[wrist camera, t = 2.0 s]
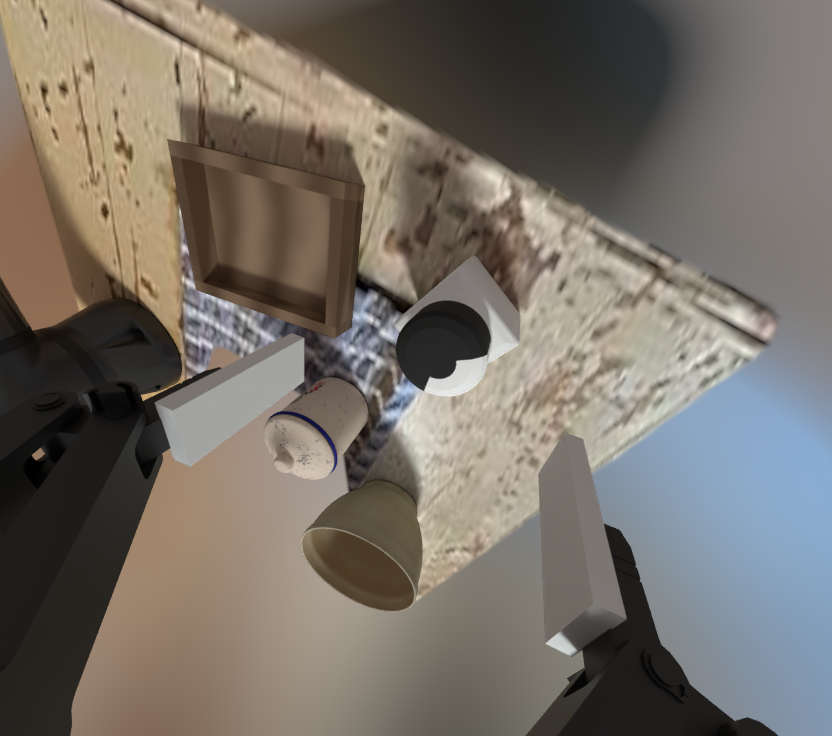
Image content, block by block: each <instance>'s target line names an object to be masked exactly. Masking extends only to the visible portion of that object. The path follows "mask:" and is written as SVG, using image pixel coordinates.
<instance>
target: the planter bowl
mask: <svg viewBox="0 0 832 736" xmlns="http://www.w3.org/2000/svg"><path fill="white" fill-rule="evenodd" d="M301 550H302V553H303V555H304V557H305V559H306V561H307V563H308V564H309V566H310V567H311V568H312V569H313V571H314V572H315V573H316V574H317V575H318V576H319V577H320V578H321V579H322V580H323V581H324V582H326V583H327V584H328V585H329V586H331V587H332V588H333V589H335V590H336V591H337V592H339V593H340V594H342V595H344V596H345V597H347V598H349V599H350V600H352V601H354V602H356V603H358V604H361V605H363V606H366V607H369V608H372V609H376V610H379V611H384V612H401V611H405V610H407V609H409V608H410V607H412V606H413V604H414V603H415V600H416V596H417V591H418V582H419V578H420V573H421V567H422V554H423V551H422V537H421V531H420V527H419V523H418V520H417V507H416V504H415V502H414V501H413V499H412V498H411V497H410V495H409V494H408V493H406V492H405V491H404V490H403V489H401V488H400V487H398V486H396V485H394V484H392V483H389V482H386V481H380V480H375V481H370V482H368V483H366V484H365V485H363V487H362V488H359V489H356V490H353V491H351V492H349V493H347V494H345V495H343V496H341V497H340V498H338V499H337V500H335V501H334V502H333V503H332V504H330V505H329V506H328V507H327V508H326V509H325V510H324V511H323V512H322V513H321V514H320V515H319V517H318V518H317V519H316V520H315V522H314V523H313V524H312V525H311V526H310V527H309V528H308V529H307V530H306V531H305V533H304V534H303V535H302V538H301Z"/></svg>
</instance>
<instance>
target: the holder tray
mask: <svg viewBox="0 0 832 736" xmlns="http://www.w3.org/2000/svg"><path fill="white" fill-rule="evenodd" d="M167 141H168V146H169V151H170V156H171V161H172V167H173V172H174V177H175V182H176V187H177V193H178V198H179V203H180V208H181V213H182V219H183V224H184V229H185V234H186V239H187V245H188V250H189V255H190V260H191V265H192V271H193V276H194V281H195V286H196V290H198V291H200V292H203V293H206V294H209V295H212V296H215V297H218V298H220V299H223V300H226V301H229V302H232V303H235V304H238V305H241V306H243V307H246V308H249V309H252V310H255V311H258V312H261V313H263V314H266V315H269V316H272V317H275V318H278V319H281V320H283V321H286V322H289V323H292V324H295V325H298V326H301V327H303V328H306V329H309V330H312V331H315V332H318V333H321V334H324V335H326V336H329V337H332V338H336V337H338V336H339V335H341V334H342V333H344V332H346V331H347V330H349V329H350V328H352V318H353V307H354V296H355V286H356V275H357V265H358V254H359V243H360V233H361V222H362V211H363V201H364V190H365V186H363V185H359V184H355V183H351V182H347V181H342V180H338V179H334V178H330V177H326V176H322V175H318V174H314V173H310V172H306V171H302V170H297V169H293V168H289V167H285V166H281V165H277V164H273V163H269V162H265V161H261V160H257V159H252V158H248V157H244V156H240V155H236V154H232V153H228V152H224V151H220V150H216V149H211V148H207V147H203V146H199V145H194V144H189V143H184V142H179V141H174V140H170V139H167Z"/></svg>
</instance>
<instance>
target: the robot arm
mask: <svg viewBox="0 0 832 736" xmlns="http://www.w3.org/2000/svg"><path fill="white" fill-rule="evenodd" d="M181 373H182V366H181V360H180V357H179V354H178V351H177V349H176V347H175V345H174V343H173V341H172V339H171V338H170V336H169V335H168V333H167V332H166V330H165V329H164V328H163V327H162V325H161V324H160V323H159V322H158V321H157V320H156V319H155V318H154V317H153V316H152V315H151V314H150V313H149V312H148V311H147V310H145V309H144V308H143V307H141V306H140V305H138V304H136V303H134V302H132V301H130V300H128V299H124V298H113V299H109V300H104V301H99V302H96V303H94V304H92V305H91V306H89V307H87V308H85V309H83V310H81V311H80V312H78V313H76V314H74V315H72V316H71V317H69V318H67V319H65V320H63V321H62V322H60V323H58V324H56V325H54V326H51V327H47V328H42V329H39V330H34V331H33V330H32V329H31V327H30V325H29V324H28V322H27V320H26V319H25V317H24V315H23V314H22V312H21V311H20V309H19V307H18V306H17V304H16V303H15V301H14V300H13V298H12V296H11V294H10V293H9V291H8V289H7V288H6V286H5V284H4V282H3V281H2V279H1V277H0V736H70V734H71V728H72V715H71V708H72V702H73V699H74V695H75V692H76V689H77V687H78V684H79V681H80V679H81V676H82V674H83V671H84V668H85V666H86V663H87V660H88V658H89V655H90V652H91V650H92V647H93V644H94V641H95V639H96V636H97V634H98V631H99V628H100V626H101V623H102V620H103V618H104V615H105V612H106V610H107V607H108V605H109V601H110V599H111V597H112V594H113V591H114V588H115V586H116V583H117V581H118V578H119V575H120V572H121V570H122V567H123V565H124V562H125V559H126V557H127V554H128V551H129V549H130V546H131V544H132V541H133V538H134V535H135V533H136V530H137V527H138V525H139V522H140V520H141V517H142V514H143V512H144V509H145V506H146V504H147V501H148V498H149V496H150V493H151V490H152V488H153V485H154V482H155V479H156V477H157V475H158V472H159V469H160V467H161V464H162V461H163V455H162V453H163V452H165V451H166V450H168V449H170V450H171V452H172V455H173V458H174V460H177V461H179V462H180V463H183V464H185V465H187V466H189V467H191V466H192V465H193V464H194V463H196V462H197V461H199V460H200V459H201V458H203V457H204V456H205V455H207V454H208V453H209V452H211V451H212V450H213V449H215V448H216V447H217V446H219V445H220V444H221V443H223V442H224V441H225V440H227V439H228V438H229V437H231V436H232V435H233V434H235V433H236V432H237V431H238V430H240V429H241V428H242V427H244V426H245V425H247V424H248V423H249V422H251V421H252V420H253V419H255V418H256V417H257V416H258V415H260V414H261V413H263V412H264V411H265V410H267V409H268V408H269V407H270V406H272V405H273V404H275V403H276V402H277V401H279V400H280V399H281V398H282V397H284V396H285V395H287V394H288V393H289V392H291V391H292V390H293V389H295V388H296V387H297V386H299V385H300V384H301V383H303V382H304V337H301V336H298V335H295V334H293V333H291V334H289V335H287V336H285V337H283V338H281V339H279V340H277V341H275V342H273V343H271V344H269V345H267V346H265V347H263V348H261V349H259V350H257V351H255V352H253V353H251V354H249V355H247V356H245V357H243V358H241V359H239V360H237V361H235V362H234V363H231V364H230V365H228V366H226V367H224V368H220V367H218V368H215V369H211V370H207V371H204V372H202V373H200V374H198V375H196V376H194V377H193V378H192V379H191V378H189V379H187V380H185V381H183V383H182V384H181V383H179V384H177V385H175V386H173V387H171V388H169V389H167V390H165V391H163V392H161V393H159V394H157V395H155V396H153V397H151V398H148V399H146V400H144V401H143V400H142V397H141V395H142V394H147V393H152V392H157V391H161V390H163V389H166V388H168V387H170V386H172V385H174V384H176V383H177V382H178V381H179V379H180V377H181ZM39 448H42V450H43V451H44V453H45V455H44V456H43V457H41V458H40V459H38V460H35V459H34V458H33V457H32V454H33V453H35V451H37V450H38V449H39ZM538 475H539V500H540V522H541V523H540V525H541V550H542V575H543V600H544V625H545V644H548V645H549V646H551V647H553V648H555V649H557V650H559V651H561V652H564V653H565V654H567V655H569V656H572V657H573V656H574V655H576V654H577V653H578V652H580V651H581V650H583V658H584V666H585V668H583V669H581V670H580V671H578V672H577V673H575V674H573V675H572V676H570V677H569V678H567V679H568V680H569V682H570V683H569V684H568V685H567V687H566V688H565V689H564V690H563V691H562V693H561V694H560V695H559V696H558V697H557V699H556V700H555V701H554V702H553V703H552V705H551V706H550V707H549V708H548V709H547V711H546V712H545V713H544V714H543V716H542V717H541V718H540V719H539V720H538V722H537V723H536V724H535V725H534V726H533V728H532V729H531V730H530V731H529V732H528V734H527V735H526V736H778V735H777V734H776V733H775V732H773V731H772V730H770V729H769V728H768V727H766V726H765V725H764V724H762V723H761V722H759V721H756V720H753V719H750V718H748V717H747V718H743V719H740V720H736V721H734V720H733V719H732V718H730V717H729V716H728V715H727V714H725V713H724V712H723V711H722V710H720V709H719V708H718V707H717V706H715V705H714V704H713V703H712V702H710V701H709V700H708V699H707V698H705V697H704V696H703V695H702V694H700V693H699V692H698V691H697V690H696V689H695V688H693V687H692V686H691V685H690V684H689V681H688V680H687V678H686V676H685V674H684V672H683V670H682V668H681V666H680V665H679V664H678V662H677V661H676V660H675V659H674V657H673V656H672V655H671V653H670V652H669V651H667V650H666V649H665V648H664V647H663V646H662V645H661V643H660V640H659V638H658V635H657V631H656V628H655V625H654V621H653V618H652V615H651V612H650V609H649V605H648V602H647V599H646V595H645V592H644V589H643V586H642V583H641V582H640V576H639V573H638V570H637V568H636V567H635V566H636V563H635V560H634V556H633V553H632V550H631V547H630V545H629V544H628V542H627V541H626V539H625V538H624V536H623V534H622V533H621V531H620V530H618V529H616V528H613V527H611V526H609V525H606V524H604V523H603V519H602V515H601V511H600V507H599V503H598V499H597V495H596V490H595V486H594V482H593V478H592V474H591V470H590V466H589V462H588V458H587V453H586V449H585V445H584V441H583V439H581V438H579V437H576V436H573V435H570V434H568V433H564V434H563V436H562V438H561V439H560V441H559V442H558V444H557V445H556V447H555V449H554V450H553V452H552V453H551V455H550V456H549V458H548V460H547V461H546V463H545V464H544V466H543V467H542V469H541V471H540V472H539V474H538Z"/></svg>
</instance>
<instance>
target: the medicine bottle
mask: <svg viewBox="0 0 832 736" xmlns="http://www.w3.org/2000/svg"><path fill="white" fill-rule="evenodd" d="M395 327H396V328H397V330H398V331H399V332H400V333H399V336H398V339H397V343H396V355H397V360H398V363H399V366H400V368H401V370H402V372H403V373H404V374H405V376H406V377H407V378H408V379H409V381H410V382H412V383H413V384H414V385H415V386H416V387H418V388H419V389H421V390H423V391H425V392H427V393H430V394H433V395H437V396H456V395H460V394H463V393H465V392H467V391H469V390H470V389H472V388H473V387H475V386H476V385H477V384H478V383H479V381H480V380H481V378H482V377H483V375H484V373H485V370H486V367H487V364H488V363H490V362H491V361H493V360H495V359H496V358H498V357H500V356H501V355H503V354H505V353H506V352H508V351H509V350H511V349H513V348H514V347H516V346H517V345H518V344H519V341H520V313H519V312H518V311H517V309H516V308H515V307H514V306H513V304H512V303H511V302H510V300H509V299H508V298H507V296H506V295H505V294H504V292H503V291H502V290H501V288H500V287H499V286H498V284H497V283H496V282H495V280H494V279H493V278H492V277H491V275H490V274H489V273H488V271H487V270H486V269H485V267H484V266H483V265H482V263H481V262H480V261H479V259H478V258H477V257H476V256H471V257H470V258H468V259H467V260H466V261H465V262H463V263H462V264H461V265H460V266H459V267H457V268H456V269H455V270H454V271H453V272H452V273H450V274H449V275H448V276H447V277H446V278H445V279H444V280H442V281H441V282H440V283H439V284H438V285H437V286H435V287H434V288H433V289H432V290H431V291H430V292H429V293H427V294H426V295H425V296H424V297H423V298H422V299H421V300H419V301H418V302H417V303H416V304H415V305H414V306H412V307H411V308H410V309H409V310H408V311H407V312H406V313H404V314H403V315H402V316H401V317H400V318H399V319H398V320H396V322H395Z"/></svg>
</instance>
